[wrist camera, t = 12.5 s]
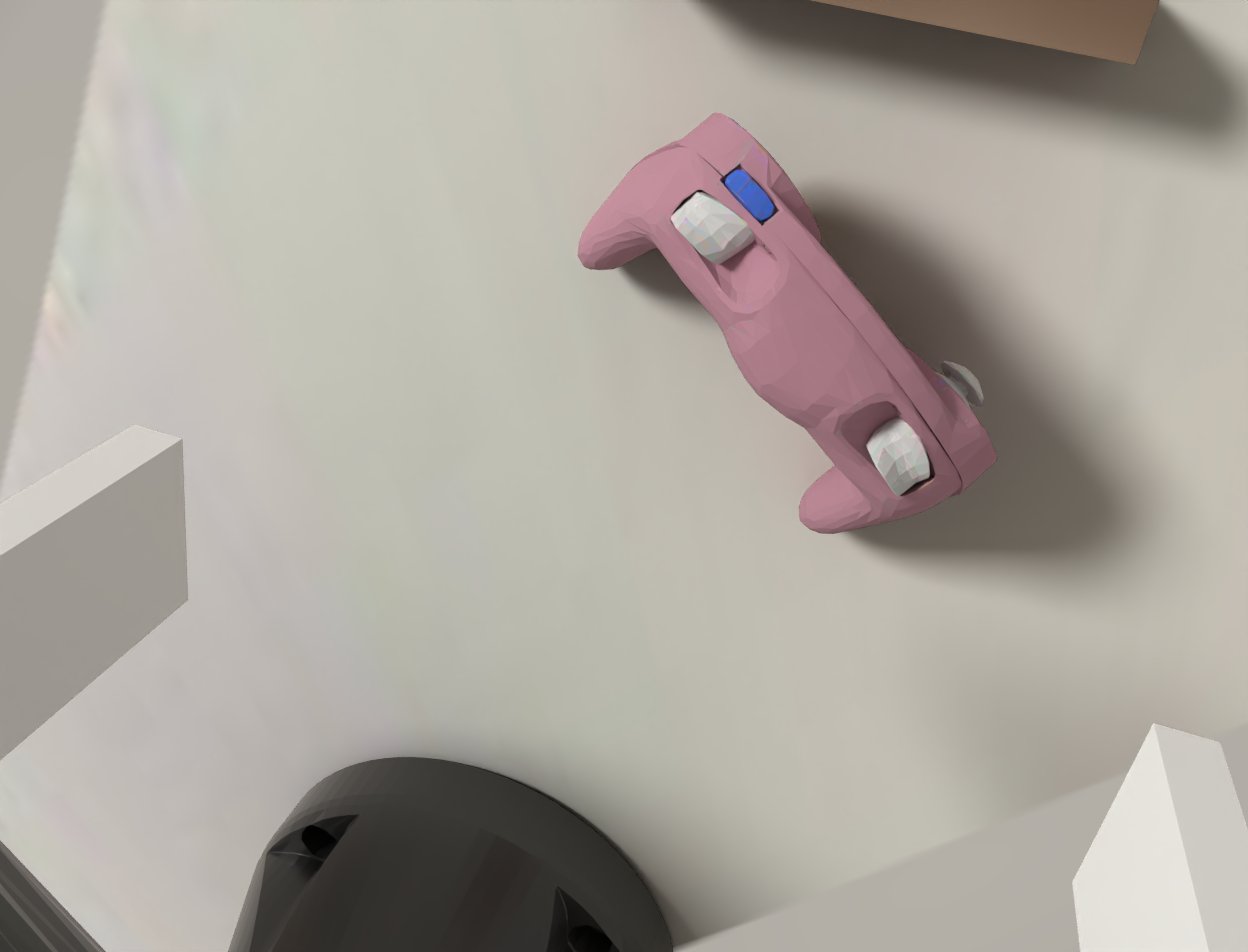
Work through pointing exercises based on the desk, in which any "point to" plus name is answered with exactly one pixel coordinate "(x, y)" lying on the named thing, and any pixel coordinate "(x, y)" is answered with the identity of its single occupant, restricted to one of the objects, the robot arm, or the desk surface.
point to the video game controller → (798, 326)
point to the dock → (1034, 21)
